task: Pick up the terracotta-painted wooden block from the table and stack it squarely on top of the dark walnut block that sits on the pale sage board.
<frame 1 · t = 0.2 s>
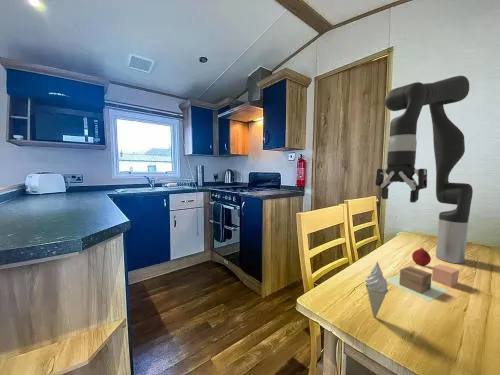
hand: (398, 200, 71), 28 cm above the table, fingers open, 8 cm apart
terracotta block: (444, 285, 73), on the table
sage board: (414, 288, 70), on the table
walnut block: (414, 286, 69), point 1 cm above the table, touching sage board
red oval piece: (420, 267, 87), on the table
ice cream cone: (374, 318, 56), on the table
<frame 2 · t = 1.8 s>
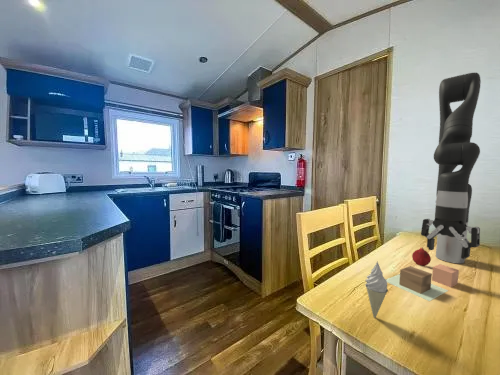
hand: (446, 253, 72), 11 cm above the table, fingers open, 8 cm apart
nothing on the table moved.
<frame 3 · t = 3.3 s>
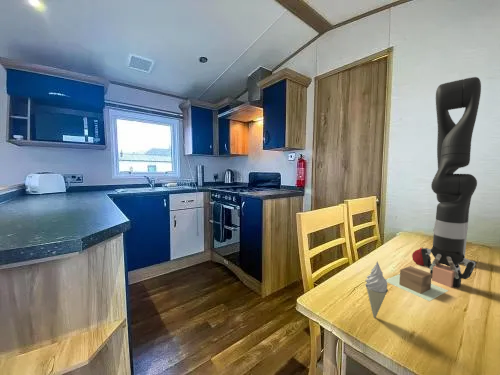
hand: (444, 284, 73), 0 cm above the table, fingers closed on terracotta block, 5 cm apart
terracotta block: (444, 285, 73), on the table, touching gripper
everything else where it was.
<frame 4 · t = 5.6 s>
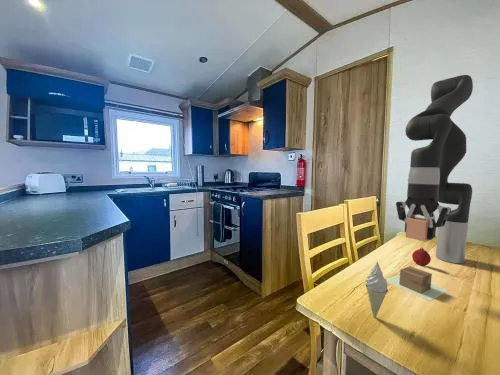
hand: (418, 236, 68), 18 cm above the table, fingers closed on terracotta block, 5 cm apart
terracotta block: (418, 238, 68), point 17 cm above the table, touching gripper
everything else where it was.
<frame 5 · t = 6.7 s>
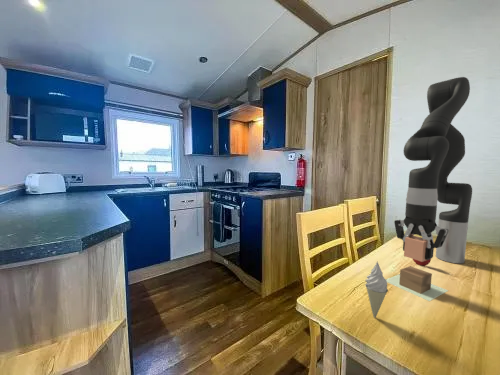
hand: (416, 255, 69), 11 cm above the table, fingers closed on terracotta block, 5 cm apart
terracotta block: (416, 257, 69), point 11 cm above the table, touching gripper
everything else where it was.
when the fingers open (7 cm above the table, at t = 7.9 s): terracotta block stays where it is, resting on walnut block.
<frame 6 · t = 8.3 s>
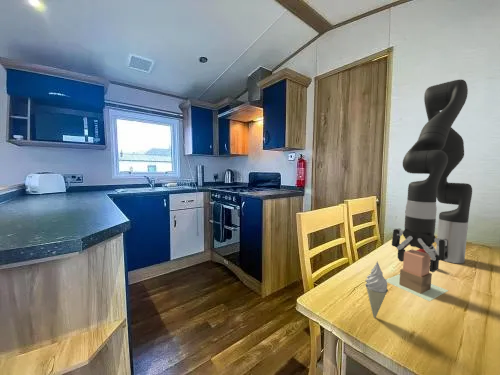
hand: (416, 265, 69), 8 cm above the table, fingers open, 8 cm apart
terracotta block: (415, 271, 69), point 6 cm above the table, touching walnut block
walnut block: (414, 286, 69), point 1 cm above the table, touching sage board, terracotta block
everything else where it was.
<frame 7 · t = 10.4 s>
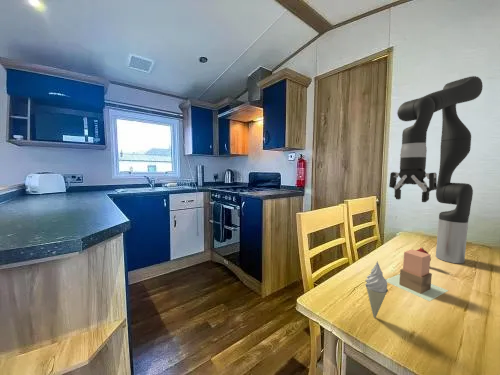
hand: (410, 200, 80), 27 cm above the table, fingers open, 8 cm apart
nothing on the table moved.
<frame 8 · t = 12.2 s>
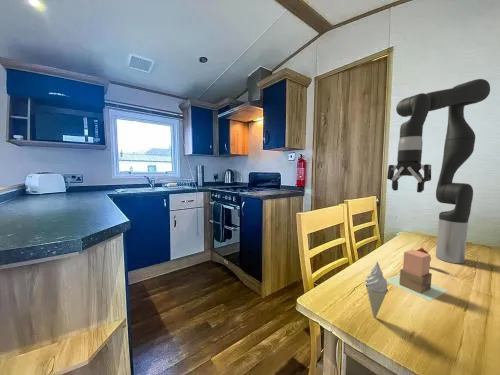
hand: (406, 191, 85), 30 cm above the table, fingers open, 8 cm apart
nothing on the table moved.
at the end: terracotta block 0.0 cm off-centre on the walnut block, point 5.0 cm above the walnut block's base; terracotta block tilted 0°; the gripper is holding nothing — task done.
